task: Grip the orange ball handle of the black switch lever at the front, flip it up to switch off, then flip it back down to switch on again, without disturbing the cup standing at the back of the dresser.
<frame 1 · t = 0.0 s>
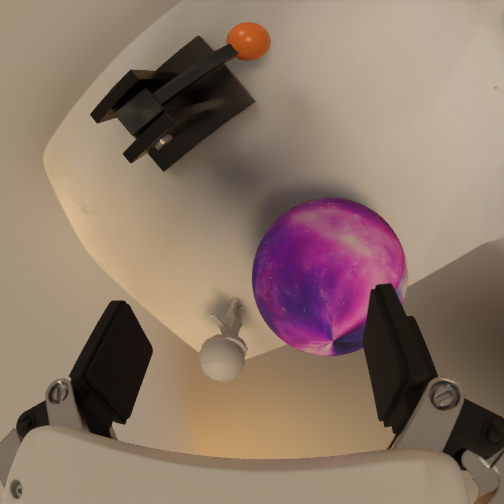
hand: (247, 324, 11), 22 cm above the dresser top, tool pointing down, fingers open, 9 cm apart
switch lever: (197, 71, 18), point 8 cm above the dresser top, hinge at -25.0°
figurine: (235, 304, 40), on the dresser top
decorative orb: (320, 237, 33), on the dresser top
switch bracket: (181, 103, 26), on the dresser top
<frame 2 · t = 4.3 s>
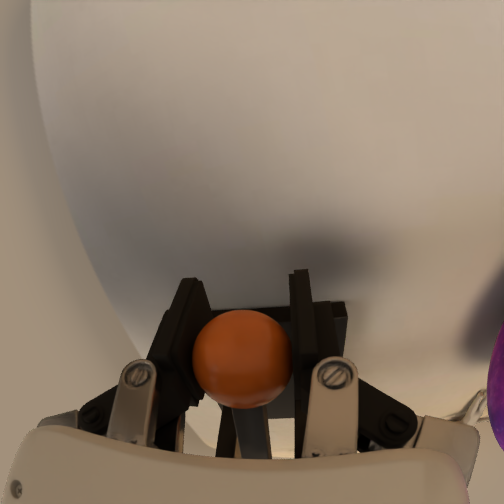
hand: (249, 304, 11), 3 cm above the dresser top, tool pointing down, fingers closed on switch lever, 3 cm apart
switch lever: (256, 454, 10), point 8 cm above the dresser top, hinge at -25.0°, touching gripper
figurine: (485, 388, 21), on the dresser top
switch bracket: (272, 369, 19), on the dresser top
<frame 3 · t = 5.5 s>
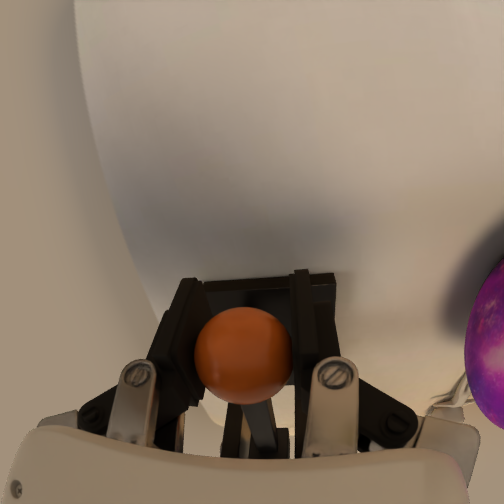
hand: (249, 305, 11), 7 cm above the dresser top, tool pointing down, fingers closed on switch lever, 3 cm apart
switch lever: (260, 418, 12), point 10 cm above the dresser top, hinge at -1.9°, touching gripper
figurine: (471, 369, 25), on the dresser top
decorative orb: (502, 277, 18), on the dresser top
switch bracket: (275, 335, 23), on the dresser top
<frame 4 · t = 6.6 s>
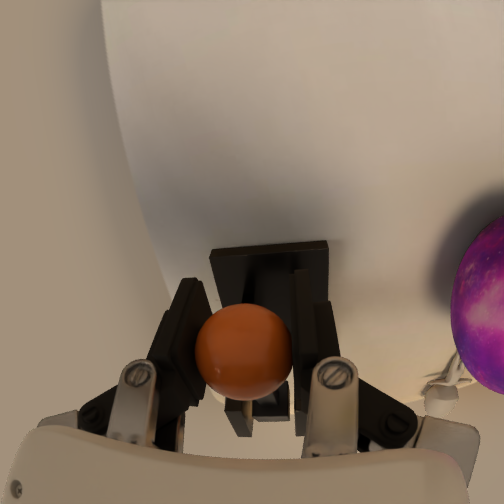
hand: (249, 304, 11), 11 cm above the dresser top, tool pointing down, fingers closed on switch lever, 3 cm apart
switch lever: (262, 385, 13), point 12 cm above the dresser top, hinge at 17.7°, touching gripper
figurine: (463, 347, 28), on the dresser top
decorative orb: (485, 252, 21), on the dresser top
switch bracket: (275, 302, 25), on the dresser top
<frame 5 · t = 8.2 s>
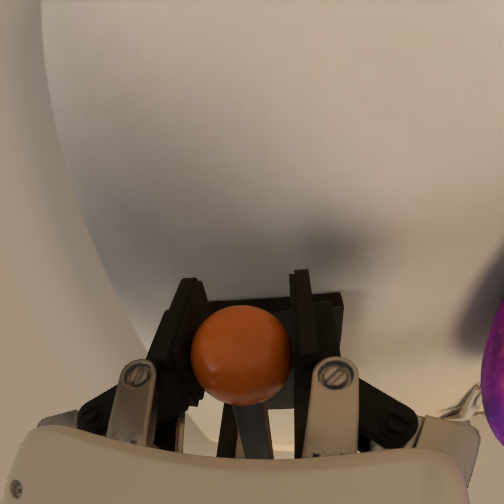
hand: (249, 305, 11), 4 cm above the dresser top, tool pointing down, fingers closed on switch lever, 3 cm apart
switch lever: (257, 444, 10), point 8 cm above the dresser top, hinge at -19.1°, touching gripper
figurine: (481, 382, 23), on the dresser top
switch bracket: (272, 359, 20), on the dresser top
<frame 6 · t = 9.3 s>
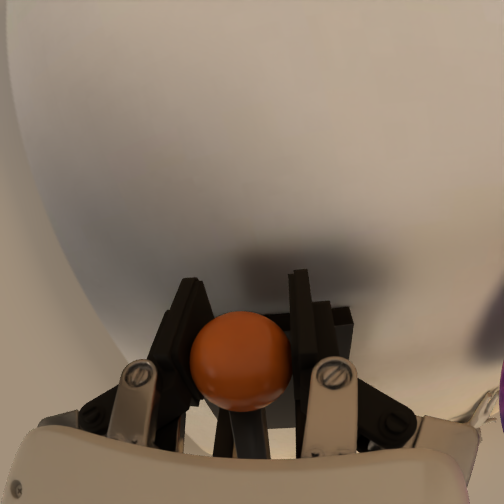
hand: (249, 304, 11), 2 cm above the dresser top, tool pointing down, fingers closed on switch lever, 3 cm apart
switch lever: (255, 467, 9), point 7 cm above the dresser top, hinge at -33.4°, touching gripper
figurine: (493, 389, 20), on the dresser top
switch bracket: (271, 379, 17), on the dresser top
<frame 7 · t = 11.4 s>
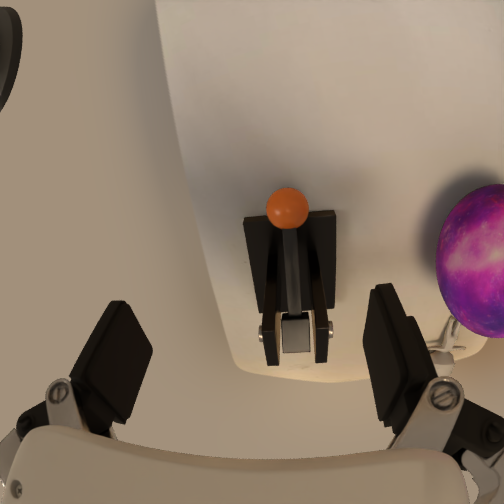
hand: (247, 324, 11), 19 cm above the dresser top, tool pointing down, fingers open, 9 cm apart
switch lever: (292, 269, 23), point 7 cm above the dresser top, hinge at -30.5°
figurine: (455, 315, 34), on the dresser top
decorative orb: (466, 225, 27), on the dresser top
switch bracket: (293, 263, 31), on the dresser top
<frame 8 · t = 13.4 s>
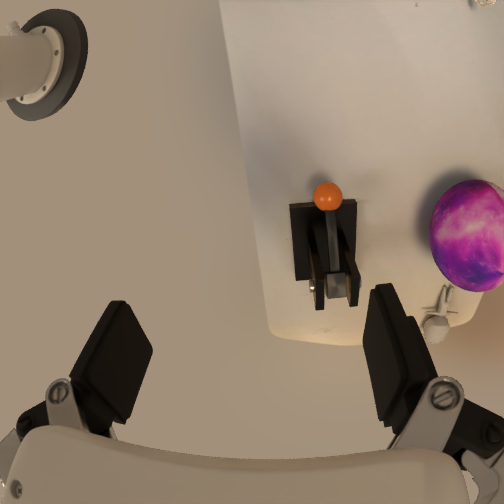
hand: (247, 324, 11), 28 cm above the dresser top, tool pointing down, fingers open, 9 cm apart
switch lever: (332, 239, 32), point 7 cm above the dresser top, hinge at -30.5°
figurine: (447, 284, 43), on the dresser top
decorative orb: (452, 211, 36), on the dresser top
switch bracket: (323, 240, 40), on the dresser top
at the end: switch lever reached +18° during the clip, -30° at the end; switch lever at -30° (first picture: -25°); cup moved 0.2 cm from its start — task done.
